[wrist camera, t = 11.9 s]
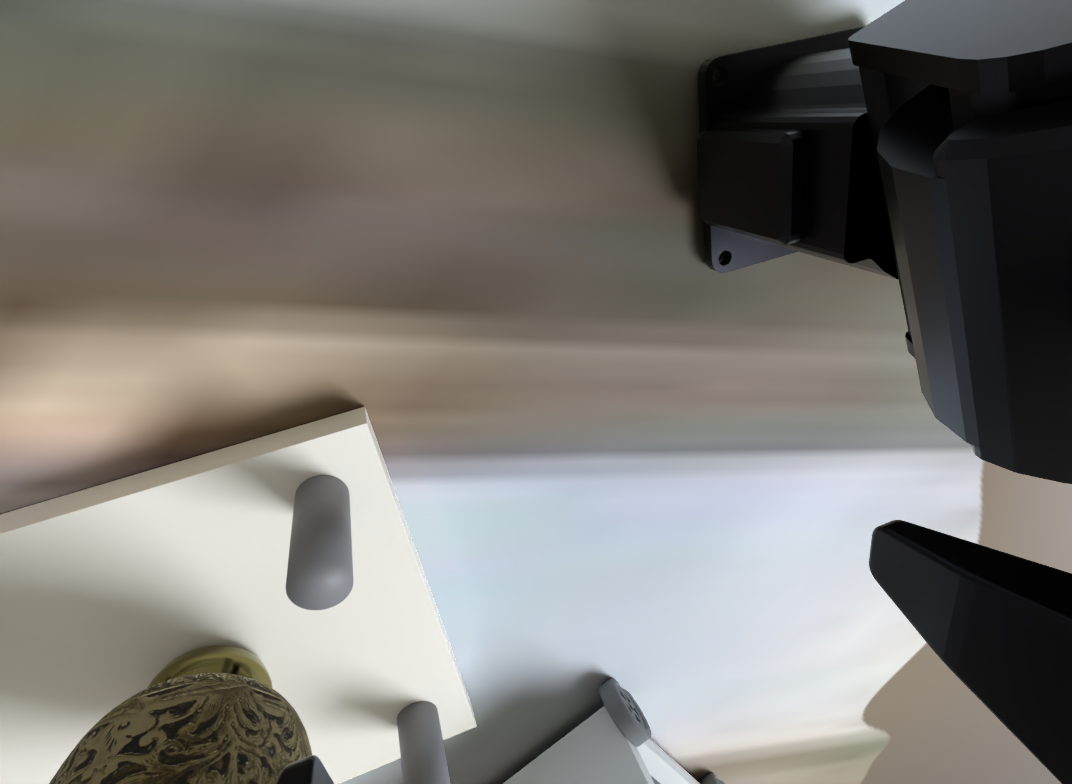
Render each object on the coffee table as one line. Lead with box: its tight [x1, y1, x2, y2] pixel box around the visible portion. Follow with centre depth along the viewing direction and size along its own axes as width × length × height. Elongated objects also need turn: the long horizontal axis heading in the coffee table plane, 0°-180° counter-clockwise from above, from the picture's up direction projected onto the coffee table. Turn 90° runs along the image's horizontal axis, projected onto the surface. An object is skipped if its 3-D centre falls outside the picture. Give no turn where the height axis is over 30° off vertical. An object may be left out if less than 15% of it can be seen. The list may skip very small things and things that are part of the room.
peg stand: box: [0, 407, 477, 784], centre depth 19 cm, size 15×15×5 cm
